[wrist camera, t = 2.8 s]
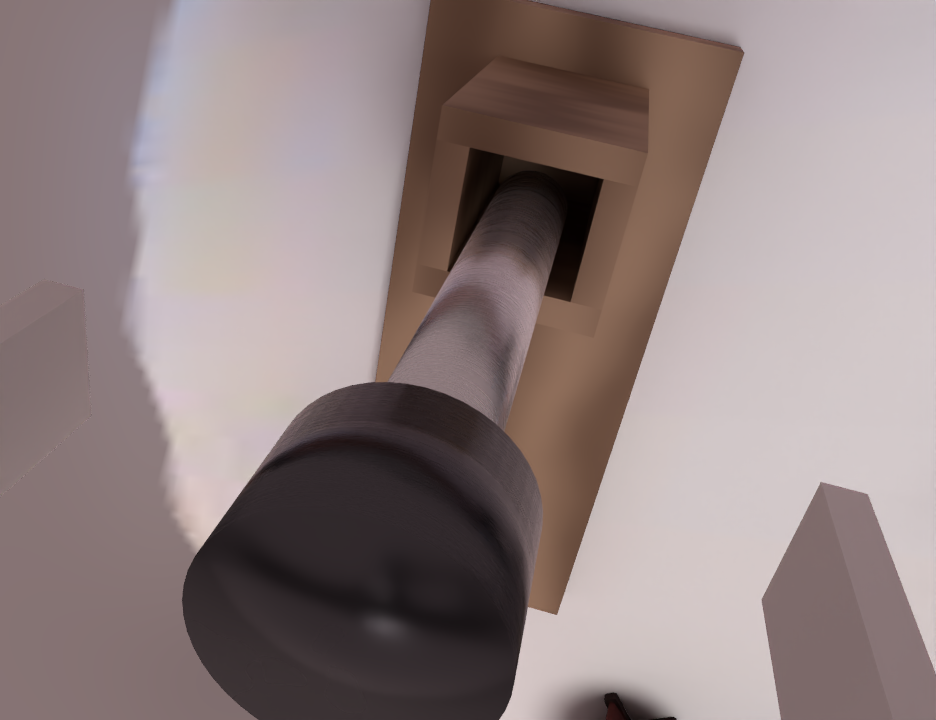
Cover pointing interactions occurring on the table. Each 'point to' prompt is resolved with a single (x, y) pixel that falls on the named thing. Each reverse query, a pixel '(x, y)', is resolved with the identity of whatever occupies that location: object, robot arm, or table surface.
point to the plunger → (395, 513)
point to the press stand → (587, 222)
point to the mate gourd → (619, 709)
